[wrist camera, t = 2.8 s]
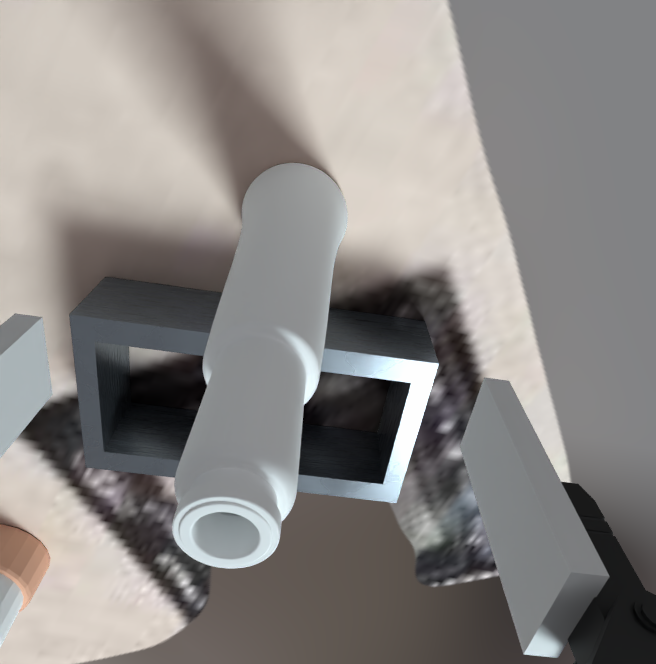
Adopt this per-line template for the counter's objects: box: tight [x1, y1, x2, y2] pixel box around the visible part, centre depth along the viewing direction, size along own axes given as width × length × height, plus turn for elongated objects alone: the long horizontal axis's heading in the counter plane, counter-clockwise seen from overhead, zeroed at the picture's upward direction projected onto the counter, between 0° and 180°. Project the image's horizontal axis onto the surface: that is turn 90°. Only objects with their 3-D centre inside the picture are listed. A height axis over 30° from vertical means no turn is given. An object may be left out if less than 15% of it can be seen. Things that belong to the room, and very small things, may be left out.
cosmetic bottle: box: [172, 163, 348, 568], centre depth 20 cm, size 6×6×22 cm
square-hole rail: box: [69, 277, 439, 503], centre depth 33 cm, size 20×11×5 cm, turn 81°
